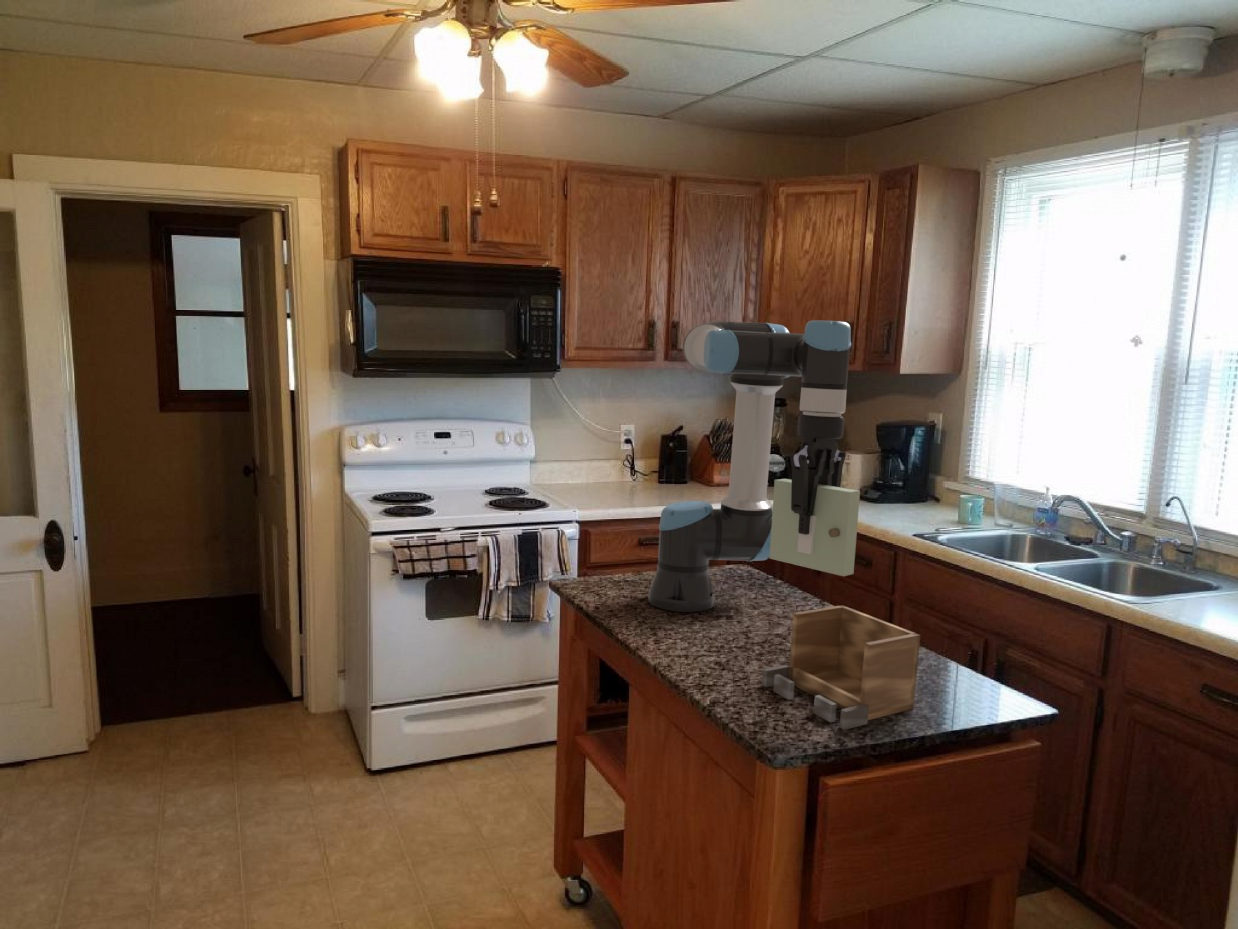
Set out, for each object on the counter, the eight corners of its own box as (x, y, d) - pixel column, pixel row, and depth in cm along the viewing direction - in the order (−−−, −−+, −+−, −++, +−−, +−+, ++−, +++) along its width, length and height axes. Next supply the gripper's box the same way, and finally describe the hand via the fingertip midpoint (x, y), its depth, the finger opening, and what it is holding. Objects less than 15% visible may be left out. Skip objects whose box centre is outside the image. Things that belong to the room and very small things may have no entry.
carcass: (762, 685, 158) (767, 614, 156) (832, 670, 167) (838, 603, 165) (844, 730, 141) (850, 651, 139) (917, 710, 150) (925, 636, 148)
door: (765, 559, 156) (770, 480, 154) (779, 556, 159) (784, 478, 157) (839, 577, 145) (846, 492, 143) (853, 573, 148) (860, 490, 146)
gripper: (829, 411, 157) (819, 542, 160) (774, 412, 146) (765, 552, 149) (867, 415, 152) (856, 549, 155) (813, 416, 141) (802, 561, 144)
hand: (811, 551), depth 152 cm, fingers closed on door, 3 cm apart
